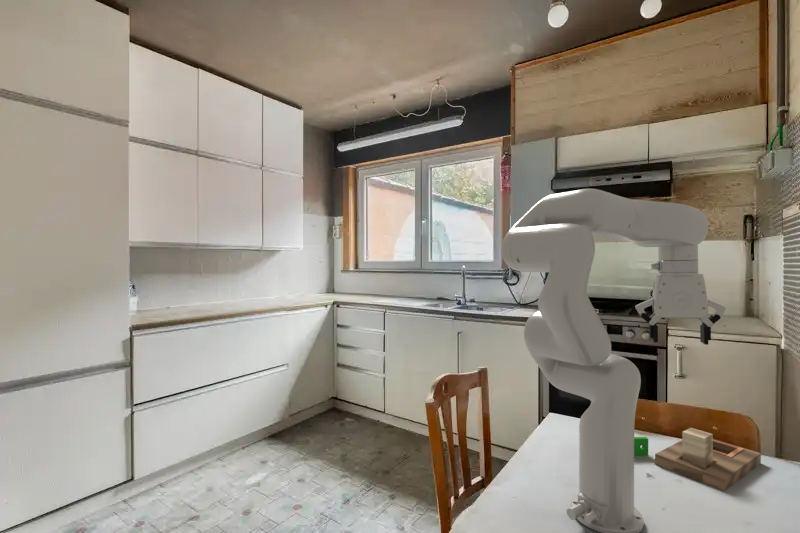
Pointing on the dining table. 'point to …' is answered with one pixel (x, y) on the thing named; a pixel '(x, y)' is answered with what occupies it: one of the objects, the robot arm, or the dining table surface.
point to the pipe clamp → (644, 449)
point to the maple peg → (697, 447)
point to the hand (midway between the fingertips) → (679, 342)
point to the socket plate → (725, 468)
